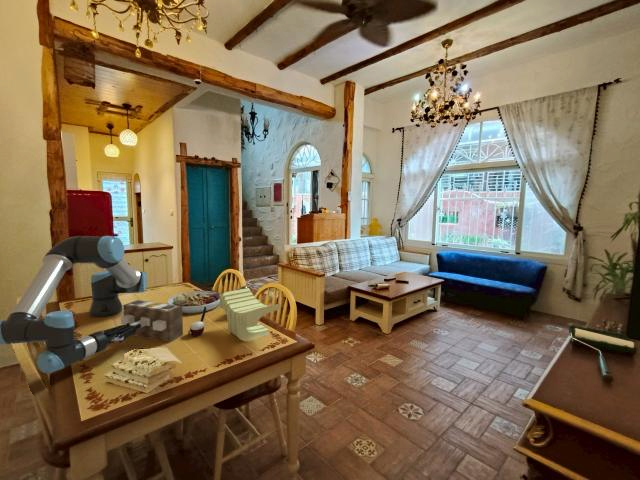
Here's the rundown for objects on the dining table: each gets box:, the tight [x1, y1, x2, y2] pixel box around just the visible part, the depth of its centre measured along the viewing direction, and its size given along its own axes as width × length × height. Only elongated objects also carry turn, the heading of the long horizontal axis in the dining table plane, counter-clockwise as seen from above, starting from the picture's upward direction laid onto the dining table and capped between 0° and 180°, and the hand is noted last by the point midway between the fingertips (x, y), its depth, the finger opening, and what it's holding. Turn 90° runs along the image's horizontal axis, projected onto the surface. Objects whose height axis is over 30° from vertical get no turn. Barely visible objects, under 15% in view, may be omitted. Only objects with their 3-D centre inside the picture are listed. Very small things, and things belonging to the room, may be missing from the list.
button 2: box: [153, 320, 167, 331], centre depth 132 cm, size 4×3×3 cm
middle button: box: [141, 317, 151, 326], centre depth 136 cm, size 4×3×3 cm
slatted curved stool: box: [219, 287, 281, 342], centre depth 143 cm, size 30×16×18 cm, turn 41°
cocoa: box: [187, 307, 207, 337], centre depth 141 cm, size 10×6×12 cm, turn 125°
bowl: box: [166, 290, 222, 315], centre depth 179 cm, size 30×30×8 cm
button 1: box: [120, 314, 135, 325], centre depth 137 cm, size 4×3×3 cm
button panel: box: [122, 299, 184, 343], centre depth 139 cm, size 26×8×15 cm, turn 74°
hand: (144, 322), depth 135 cm, fingers closed
